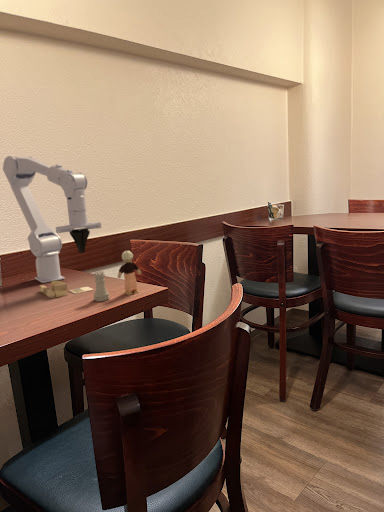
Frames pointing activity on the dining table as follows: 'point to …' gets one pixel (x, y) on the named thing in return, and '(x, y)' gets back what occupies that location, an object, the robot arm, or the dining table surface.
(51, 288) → the alphabet block
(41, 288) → the backstop
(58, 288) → the maple cube
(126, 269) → the grandmother figurine
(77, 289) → the card
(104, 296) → the rook chess piece
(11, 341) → the dining table surface
